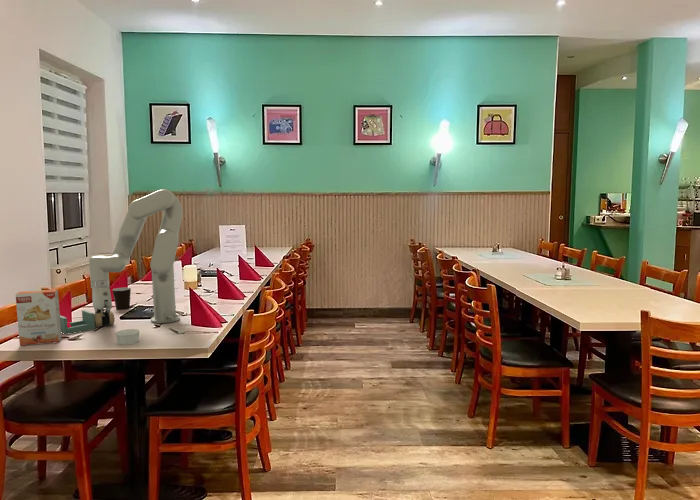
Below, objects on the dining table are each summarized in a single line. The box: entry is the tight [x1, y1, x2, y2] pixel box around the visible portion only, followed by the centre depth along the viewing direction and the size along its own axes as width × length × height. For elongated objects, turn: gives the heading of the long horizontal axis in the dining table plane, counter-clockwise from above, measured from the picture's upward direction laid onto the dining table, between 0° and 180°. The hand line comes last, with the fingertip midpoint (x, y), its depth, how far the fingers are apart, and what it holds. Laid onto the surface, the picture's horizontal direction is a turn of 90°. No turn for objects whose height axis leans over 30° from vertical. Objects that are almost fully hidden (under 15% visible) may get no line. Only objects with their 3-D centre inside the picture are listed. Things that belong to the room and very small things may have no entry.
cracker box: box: [15, 289, 62, 346], centre depth 219 cm, size 14×6×21 cm, turn 106°
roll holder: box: [60, 309, 96, 335], centre depth 238 cm, size 10×12×7 cm
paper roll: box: [94, 310, 116, 328], centre depth 245 cm, size 8×6×6 cm
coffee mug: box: [112, 287, 132, 311], centre depth 281 cm, size 12×9×10 cm
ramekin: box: [114, 328, 140, 346], centre depth 218 cm, size 9×9×4 cm
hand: (102, 323), depth 245 cm, fingers closed on paper roll, 6 cm apart
